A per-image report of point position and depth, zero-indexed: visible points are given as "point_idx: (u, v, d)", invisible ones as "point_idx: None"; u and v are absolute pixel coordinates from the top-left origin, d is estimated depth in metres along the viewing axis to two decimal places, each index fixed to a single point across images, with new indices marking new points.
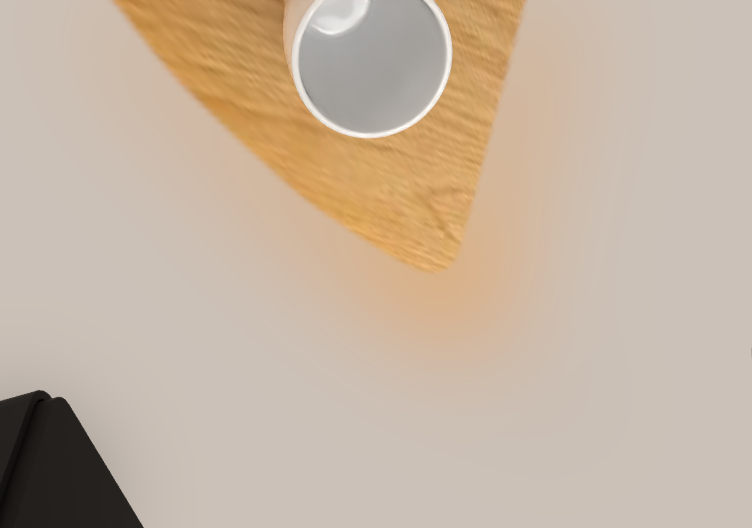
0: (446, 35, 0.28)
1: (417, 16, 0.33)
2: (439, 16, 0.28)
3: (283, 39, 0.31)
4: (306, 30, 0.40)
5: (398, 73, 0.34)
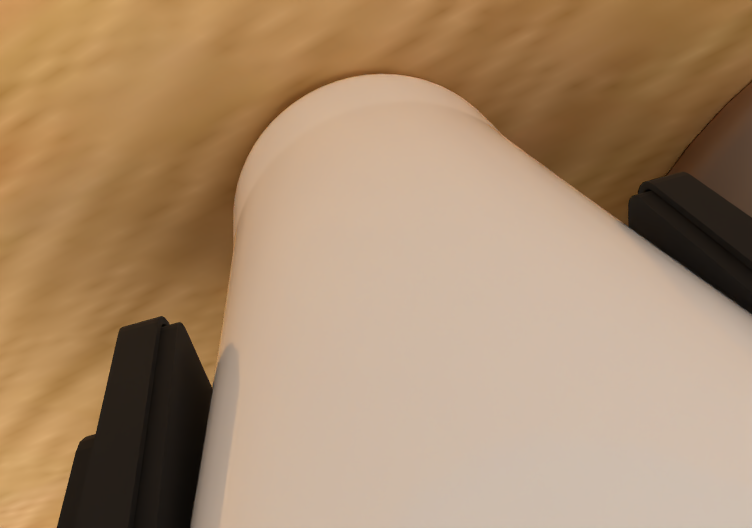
0: None
1: None
2: None
3: None
4: None
5: None
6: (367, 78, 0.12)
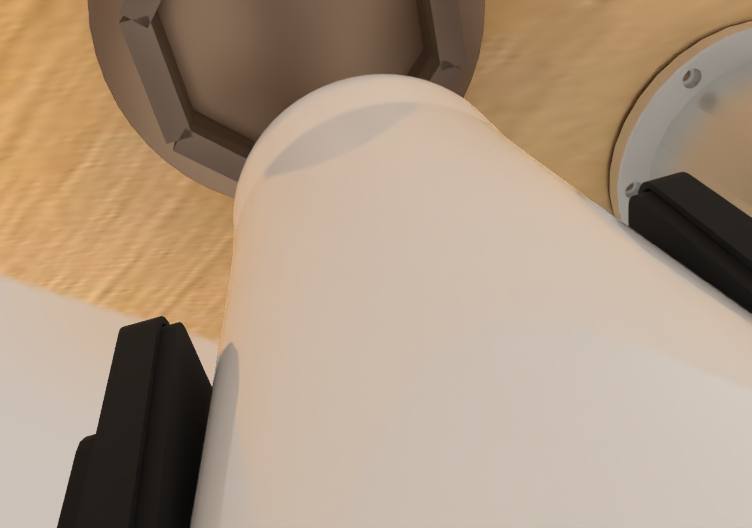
0: None
1: None
2: None
3: None
4: None
5: None
6: (367, 78, 0.12)
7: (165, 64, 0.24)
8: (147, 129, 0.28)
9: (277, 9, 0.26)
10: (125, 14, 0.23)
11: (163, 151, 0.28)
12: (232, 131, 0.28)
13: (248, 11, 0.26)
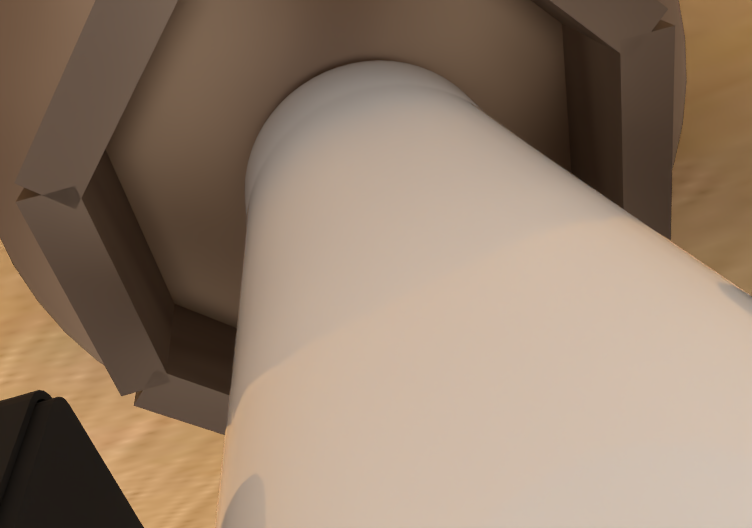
0: None
1: None
2: None
3: None
4: None
5: None
6: (366, 64, 0.13)
7: (114, 268, 0.12)
8: None
9: None
10: (28, 186, 0.11)
11: None
12: None
13: None
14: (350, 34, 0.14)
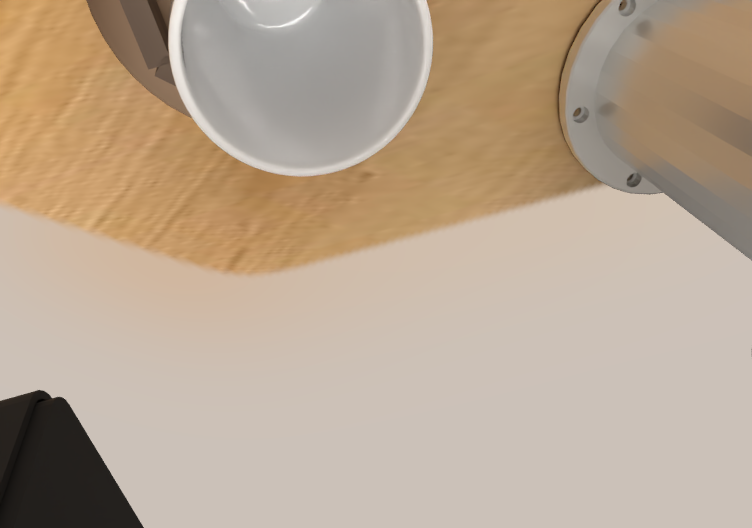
0: (311, 171, 0.19)
1: (284, 110, 0.23)
2: (341, 166, 0.19)
3: None
4: None
5: (207, 64, 0.22)
6: None
7: None
8: (132, 62, 0.31)
9: None
10: None
11: (147, 82, 0.31)
12: None
13: None
14: None
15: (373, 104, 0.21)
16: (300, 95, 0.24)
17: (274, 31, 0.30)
